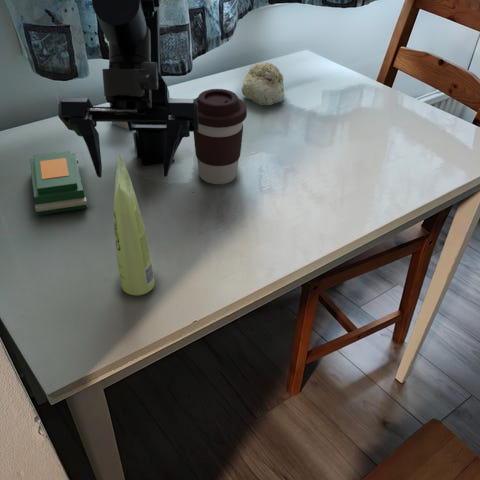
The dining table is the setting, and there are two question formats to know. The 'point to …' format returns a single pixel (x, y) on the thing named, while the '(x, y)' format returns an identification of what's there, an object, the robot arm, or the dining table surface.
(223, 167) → the coffee cup
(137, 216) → the tube
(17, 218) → the dining table surface
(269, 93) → the decorative item
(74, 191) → the stack of green books
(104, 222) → the dining table surface
